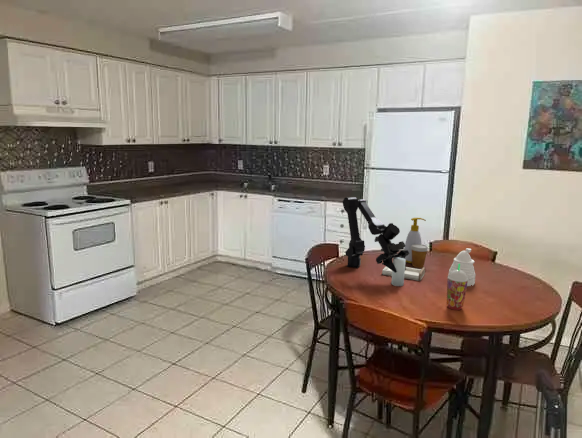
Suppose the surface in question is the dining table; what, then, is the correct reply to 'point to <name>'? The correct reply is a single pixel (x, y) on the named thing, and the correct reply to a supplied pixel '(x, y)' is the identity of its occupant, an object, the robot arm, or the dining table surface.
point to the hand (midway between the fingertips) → (400, 271)
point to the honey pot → (465, 265)
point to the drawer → (408, 273)
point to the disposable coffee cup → (418, 255)
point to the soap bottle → (412, 239)
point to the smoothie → (456, 289)
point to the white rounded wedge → (398, 272)
